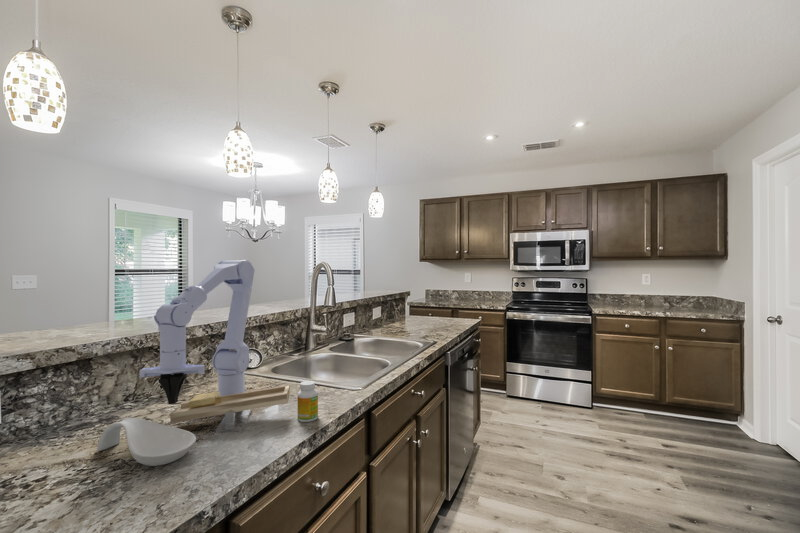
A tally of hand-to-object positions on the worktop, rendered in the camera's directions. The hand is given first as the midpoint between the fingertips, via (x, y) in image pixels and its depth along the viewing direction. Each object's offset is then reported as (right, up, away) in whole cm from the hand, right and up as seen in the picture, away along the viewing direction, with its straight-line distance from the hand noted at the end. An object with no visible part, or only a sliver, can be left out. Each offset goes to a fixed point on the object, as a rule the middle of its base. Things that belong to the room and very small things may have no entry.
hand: (173, 402), depth 94 cm
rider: (+8, -2, +2) cm, 8 cm away
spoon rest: (+2, -7, -14) cm, 16 cm away
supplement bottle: (+34, -6, +5) cm, 35 cm away
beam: (+15, -2, +3) cm, 15 cm away
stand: (+15, -6, +3) cm, 16 cm away
